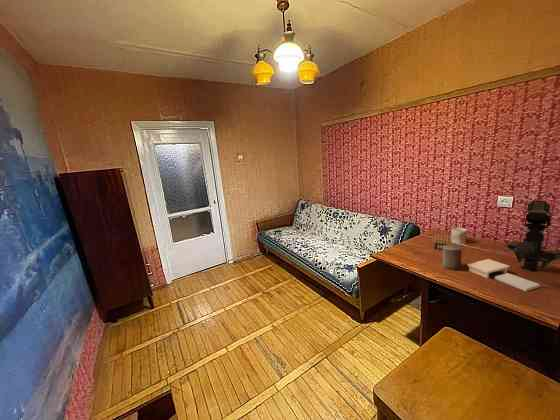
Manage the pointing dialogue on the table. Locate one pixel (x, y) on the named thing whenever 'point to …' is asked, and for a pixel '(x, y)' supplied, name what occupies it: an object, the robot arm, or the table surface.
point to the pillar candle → (452, 257)
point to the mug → (458, 235)
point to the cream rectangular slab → (487, 267)
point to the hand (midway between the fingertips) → (530, 265)
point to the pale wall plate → (517, 281)
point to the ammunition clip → (442, 242)
